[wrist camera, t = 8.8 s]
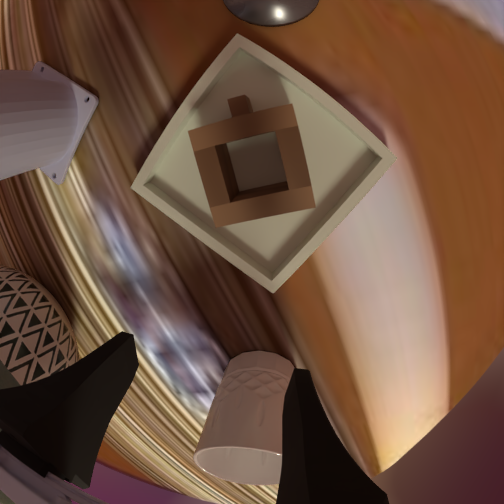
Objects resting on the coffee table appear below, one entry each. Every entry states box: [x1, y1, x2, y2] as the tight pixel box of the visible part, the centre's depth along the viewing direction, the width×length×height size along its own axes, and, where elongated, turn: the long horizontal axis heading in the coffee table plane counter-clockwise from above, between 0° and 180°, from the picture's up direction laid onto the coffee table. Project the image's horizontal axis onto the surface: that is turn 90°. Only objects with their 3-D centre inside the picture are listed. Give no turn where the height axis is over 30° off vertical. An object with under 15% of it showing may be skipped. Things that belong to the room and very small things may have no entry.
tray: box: [131, 33, 397, 293], centre depth 17 cm, size 12×12×2 cm
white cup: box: [193, 351, 295, 485], centre depth 21 cm, size 8×8×10 cm
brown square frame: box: [188, 95, 316, 228], centre depth 16 cm, size 6×7×3 cm
